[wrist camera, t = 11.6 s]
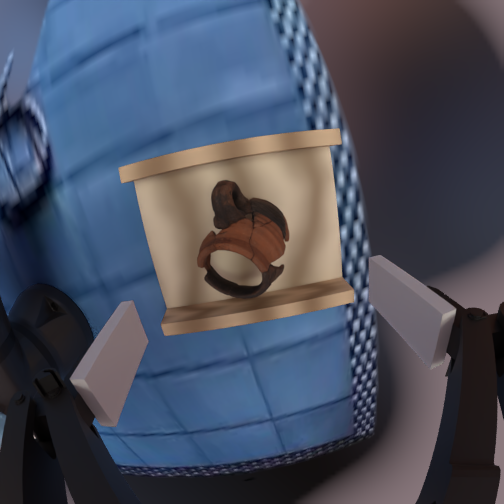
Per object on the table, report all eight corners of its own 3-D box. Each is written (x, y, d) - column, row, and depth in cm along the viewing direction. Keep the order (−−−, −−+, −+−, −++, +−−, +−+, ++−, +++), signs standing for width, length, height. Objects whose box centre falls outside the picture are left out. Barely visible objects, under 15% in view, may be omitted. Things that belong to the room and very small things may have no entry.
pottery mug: (304, 247, 33) (293, 301, 27) (234, 258, 37) (212, 307, 31) (266, 153, 26) (242, 193, 20) (190, 179, 30) (152, 220, 24)
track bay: (172, 314, 35) (164, 335, 30) (134, 167, 29) (118, 167, 24) (339, 284, 35) (353, 301, 30) (323, 133, 30) (339, 128, 25)
